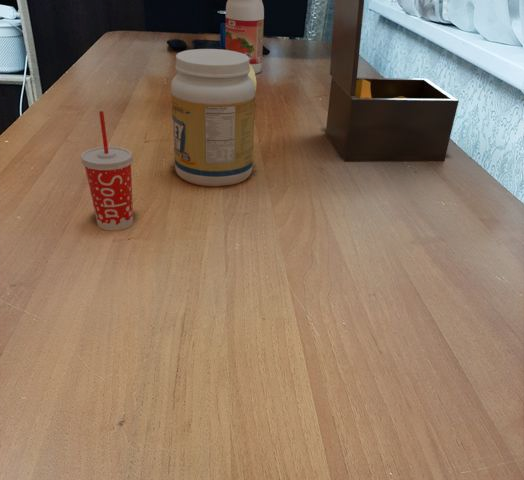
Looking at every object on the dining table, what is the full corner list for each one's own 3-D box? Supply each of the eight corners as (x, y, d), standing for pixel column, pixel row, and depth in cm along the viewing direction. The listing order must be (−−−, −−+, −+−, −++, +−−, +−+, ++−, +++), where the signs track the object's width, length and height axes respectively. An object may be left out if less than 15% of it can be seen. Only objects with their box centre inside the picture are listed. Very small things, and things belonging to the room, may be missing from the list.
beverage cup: (84, 230, 73) (65, 116, 64) (101, 211, 77) (85, 102, 69) (130, 235, 72) (117, 121, 64) (145, 215, 77) (135, 106, 68)
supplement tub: (167, 164, 92) (159, 48, 82) (238, 157, 96) (239, 46, 86) (186, 193, 83) (181, 67, 73) (264, 184, 87) (269, 63, 77)
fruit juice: (269, 72, 147) (275, -61, 130) (241, 76, 142) (244, -61, 125) (245, 65, 153) (248, -64, 136) (218, 69, 148) (217, -64, 130)
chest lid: (343, -52, 91) (312, -52, 90) (368, -45, 79) (333, -45, 79) (334, 74, 102) (306, 75, 102) (355, 96, 91) (324, 97, 90)
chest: (415, 133, 111) (426, 78, 105) (444, 161, 99) (459, 100, 93) (325, 133, 109) (331, 77, 102) (344, 161, 97) (352, 99, 91)
